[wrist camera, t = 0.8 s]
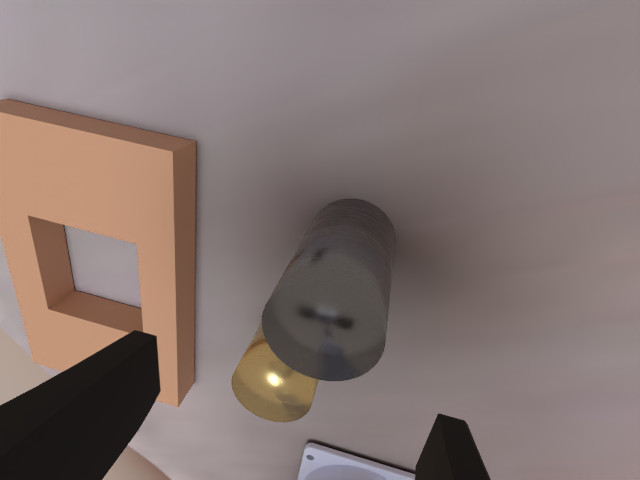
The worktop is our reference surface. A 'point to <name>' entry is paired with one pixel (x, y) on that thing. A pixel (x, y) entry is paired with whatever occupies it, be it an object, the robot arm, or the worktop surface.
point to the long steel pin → (334, 294)
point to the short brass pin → (271, 384)
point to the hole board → (102, 218)
